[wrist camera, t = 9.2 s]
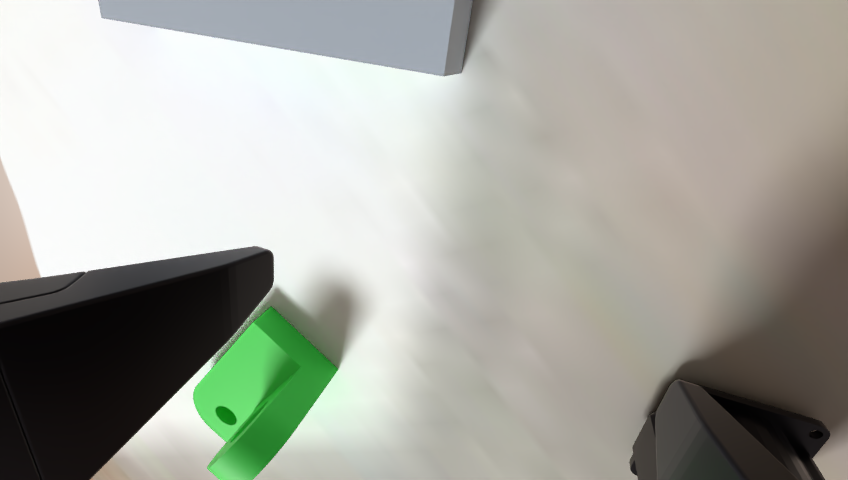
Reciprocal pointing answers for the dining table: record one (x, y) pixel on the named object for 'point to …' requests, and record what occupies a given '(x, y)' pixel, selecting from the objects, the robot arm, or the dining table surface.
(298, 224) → the dining table surface
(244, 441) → the mechanical part
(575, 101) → the dining table surface
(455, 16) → the socket board
